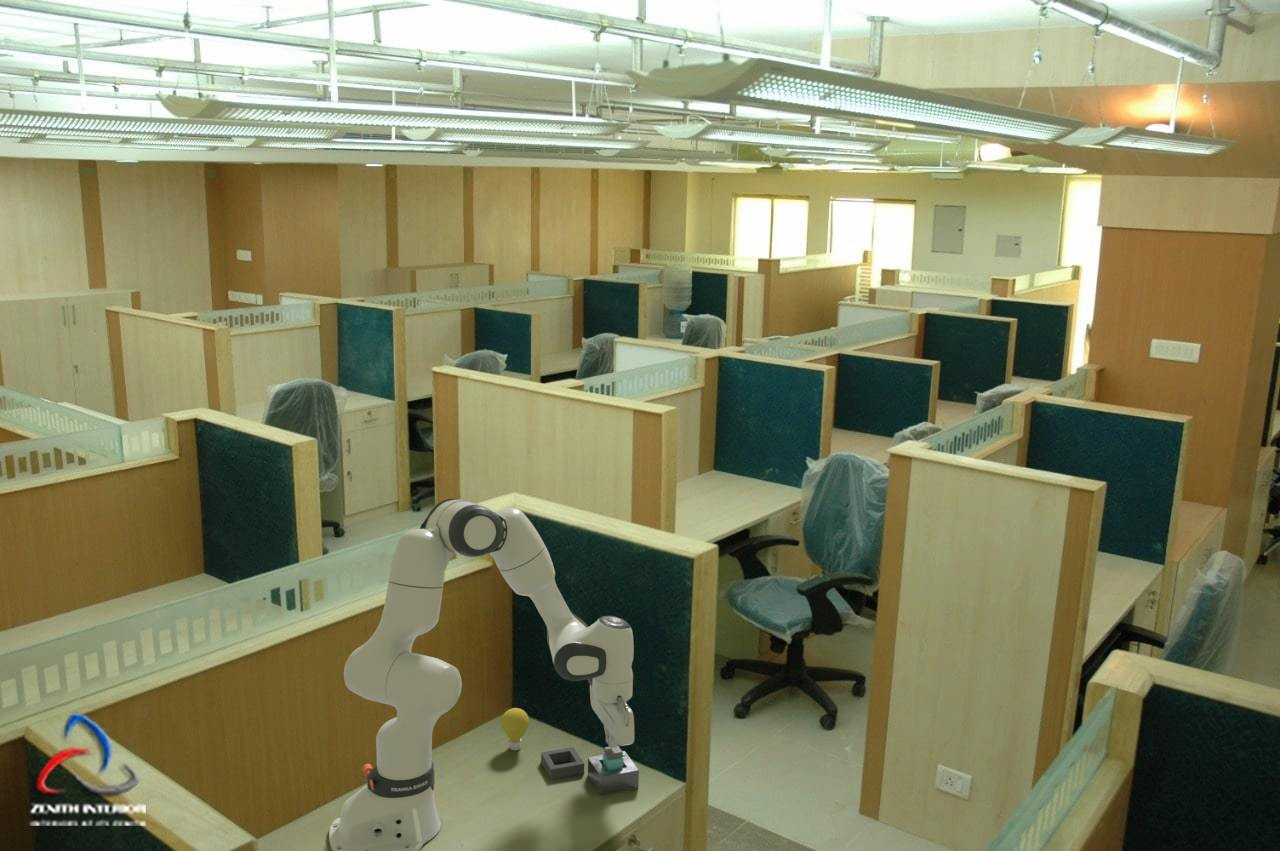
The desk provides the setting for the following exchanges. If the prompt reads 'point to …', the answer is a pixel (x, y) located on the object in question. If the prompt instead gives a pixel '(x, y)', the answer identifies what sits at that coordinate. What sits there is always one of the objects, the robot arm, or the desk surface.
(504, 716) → the light bulb
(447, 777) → the desk surface
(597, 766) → the port
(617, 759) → the plug
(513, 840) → the desk surface
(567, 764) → the frame
